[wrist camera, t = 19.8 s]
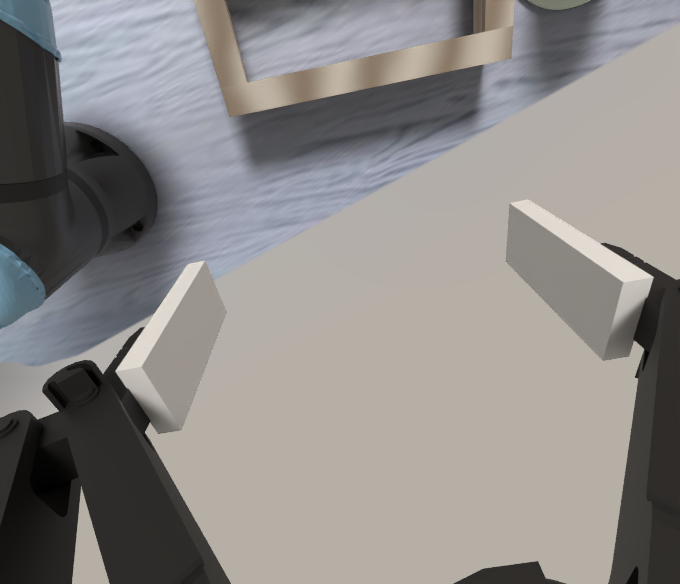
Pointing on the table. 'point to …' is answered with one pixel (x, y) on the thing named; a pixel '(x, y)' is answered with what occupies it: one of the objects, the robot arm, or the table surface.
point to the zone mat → (557, 3)
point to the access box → (387, 68)
